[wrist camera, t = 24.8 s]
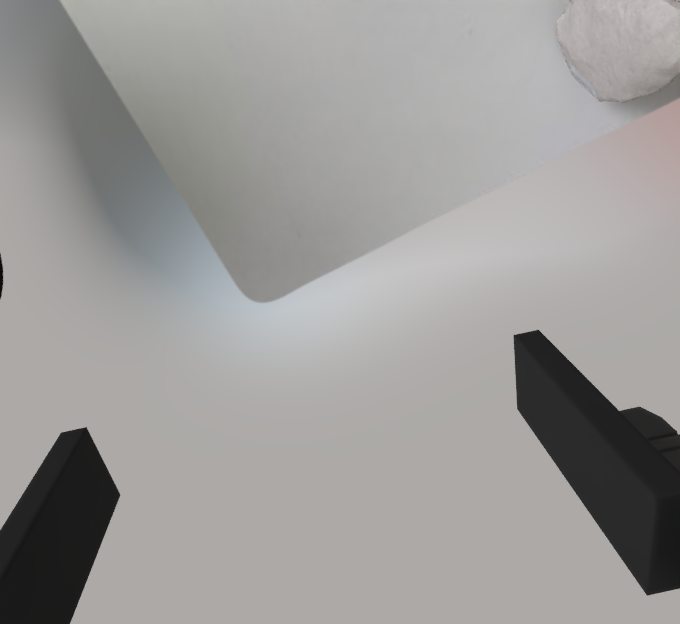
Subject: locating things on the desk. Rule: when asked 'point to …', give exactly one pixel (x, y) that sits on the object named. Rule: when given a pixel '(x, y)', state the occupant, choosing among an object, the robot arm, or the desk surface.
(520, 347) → the robot arm
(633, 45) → the stone tool
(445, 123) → the desk surface
